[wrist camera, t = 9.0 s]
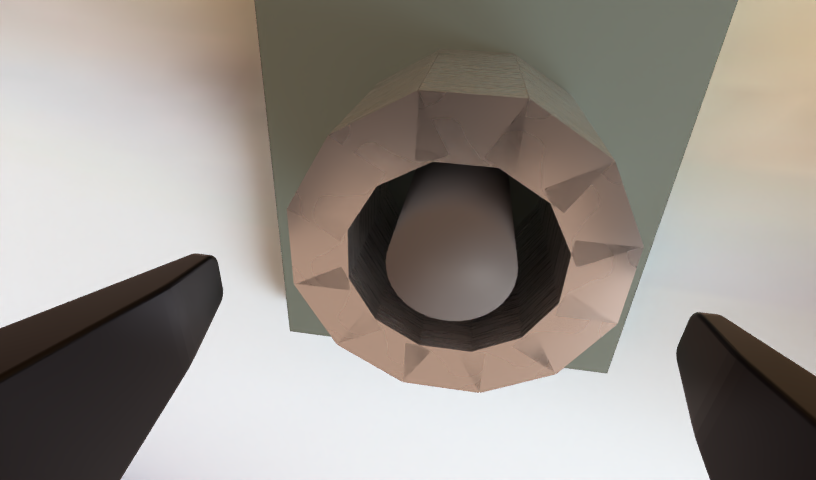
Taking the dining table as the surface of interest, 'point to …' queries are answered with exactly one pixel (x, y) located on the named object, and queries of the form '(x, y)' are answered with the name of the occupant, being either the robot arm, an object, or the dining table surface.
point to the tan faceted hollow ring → (535, 236)
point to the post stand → (478, 185)
